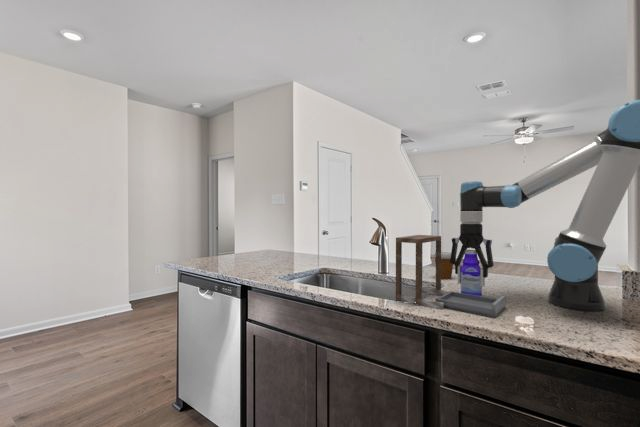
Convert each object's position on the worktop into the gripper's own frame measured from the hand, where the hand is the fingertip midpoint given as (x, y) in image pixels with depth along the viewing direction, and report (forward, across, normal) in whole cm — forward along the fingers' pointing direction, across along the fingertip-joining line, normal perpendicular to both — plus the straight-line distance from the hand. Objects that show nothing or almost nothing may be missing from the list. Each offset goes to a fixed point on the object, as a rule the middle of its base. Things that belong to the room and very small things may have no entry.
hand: (471, 284), depth 121 cm
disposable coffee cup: (+5, +20, -27) cm, 34 cm away
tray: (+5, -4, +14) cm, 15 cm away
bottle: (+5, 0, 0) cm, 5 cm away
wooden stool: (+5, +10, +14) cm, 18 cm away
